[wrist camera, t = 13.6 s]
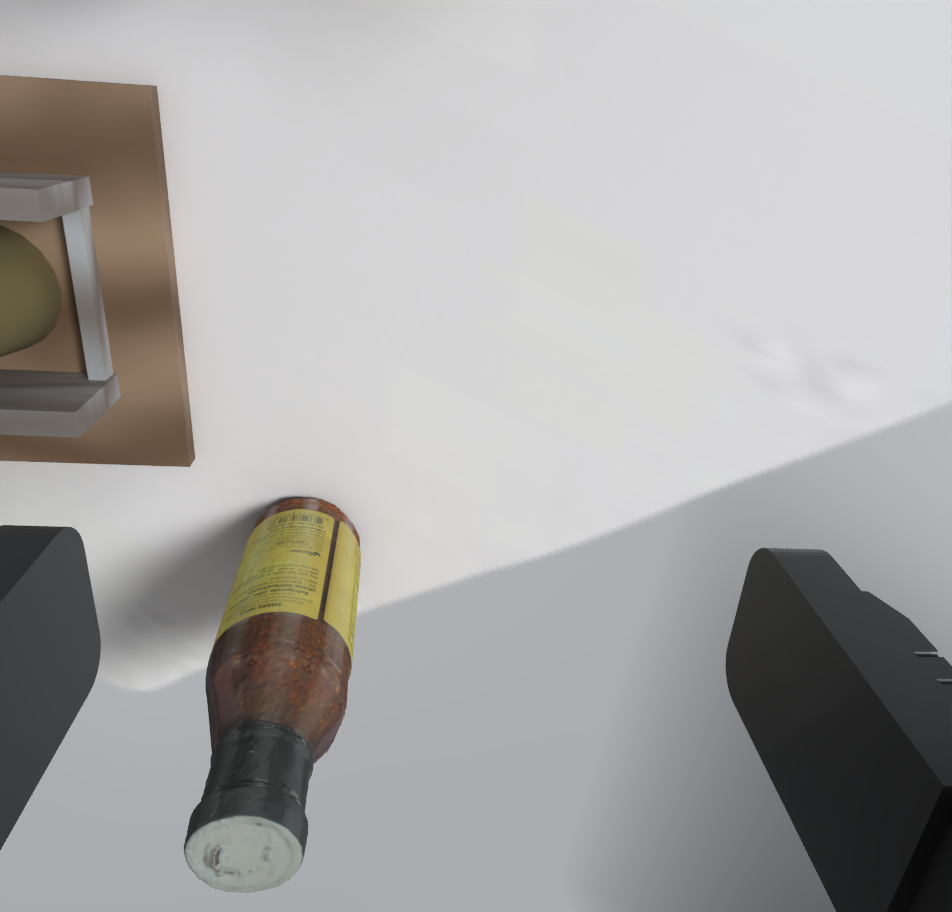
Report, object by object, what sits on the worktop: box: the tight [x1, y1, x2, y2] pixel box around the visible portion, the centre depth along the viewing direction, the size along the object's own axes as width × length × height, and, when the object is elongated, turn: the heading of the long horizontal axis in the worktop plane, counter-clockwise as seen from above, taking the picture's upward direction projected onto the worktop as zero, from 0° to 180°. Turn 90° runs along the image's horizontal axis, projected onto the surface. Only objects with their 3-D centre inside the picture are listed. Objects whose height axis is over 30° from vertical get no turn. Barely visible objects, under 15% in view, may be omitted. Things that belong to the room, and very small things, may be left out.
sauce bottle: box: [184, 498, 361, 893], centre depth 35 cm, size 6×6×20 cm
